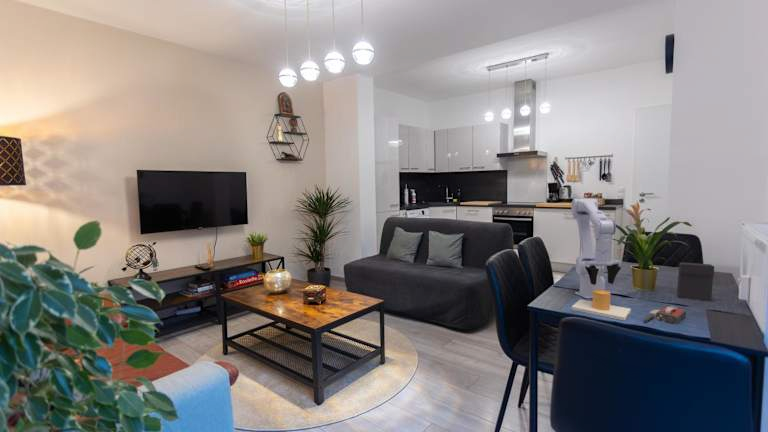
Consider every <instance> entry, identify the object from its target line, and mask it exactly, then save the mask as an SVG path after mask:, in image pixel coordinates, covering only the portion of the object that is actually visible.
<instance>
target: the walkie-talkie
mask: <svg viewBox="0 0 768 432" xmlns="http://www.w3.org/2000/svg"><path fill="white" fill-rule="evenodd" d="M686 315H687V310H685V309H684V308H680V307H677V306H672V305H668V306H665V307H663V308H661V309H653V310H651V311H649V312H648V316H646V317H644V319H643V322H645V323H646V322H648V321H649V320H651V319H655V318H656V320H658V321H664V322H666V323H669V324H676V325H677V324H679V323H680V322H681V321H682V320H684V319H685V318H686Z"/></svg>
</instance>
